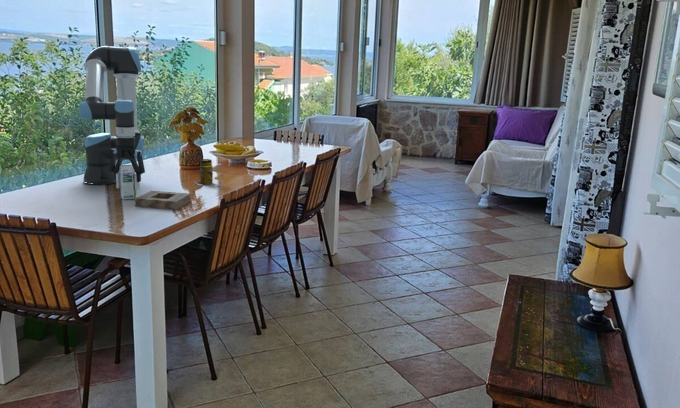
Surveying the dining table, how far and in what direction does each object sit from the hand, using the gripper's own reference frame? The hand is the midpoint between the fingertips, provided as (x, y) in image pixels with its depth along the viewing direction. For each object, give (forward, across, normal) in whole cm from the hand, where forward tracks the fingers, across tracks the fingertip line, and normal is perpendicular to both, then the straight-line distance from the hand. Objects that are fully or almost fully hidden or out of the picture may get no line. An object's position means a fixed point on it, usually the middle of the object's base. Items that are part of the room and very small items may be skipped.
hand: (128, 188), depth 259 cm
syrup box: (+4, 0, 0) cm, 4 cm away
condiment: (+5, +20, +39) cm, 44 cm away
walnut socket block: (+4, +18, -4) cm, 19 cm away
